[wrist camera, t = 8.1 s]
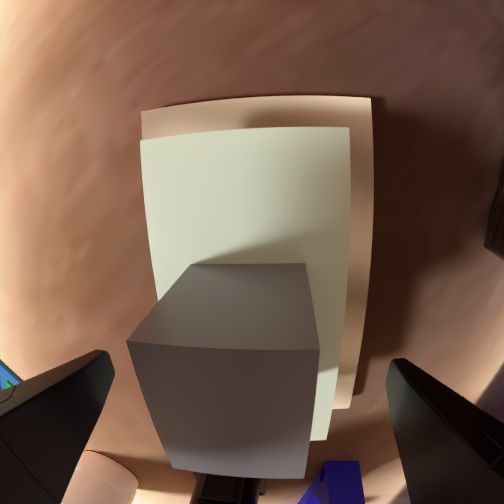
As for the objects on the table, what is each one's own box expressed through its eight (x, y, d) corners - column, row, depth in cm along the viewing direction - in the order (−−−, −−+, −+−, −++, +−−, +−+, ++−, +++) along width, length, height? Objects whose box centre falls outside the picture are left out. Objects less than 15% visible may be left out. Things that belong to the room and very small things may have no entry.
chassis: (347, 397, 18) (355, 441, 14) (187, 394, 19) (170, 435, 16) (365, 101, 13) (391, 84, 9) (149, 114, 14) (110, 103, 10)
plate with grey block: (342, 131, 10) (409, 99, 4) (324, 423, 14) (332, 522, 8) (153, 141, 11) (40, 136, 5) (195, 419, 15) (164, 510, 9)
